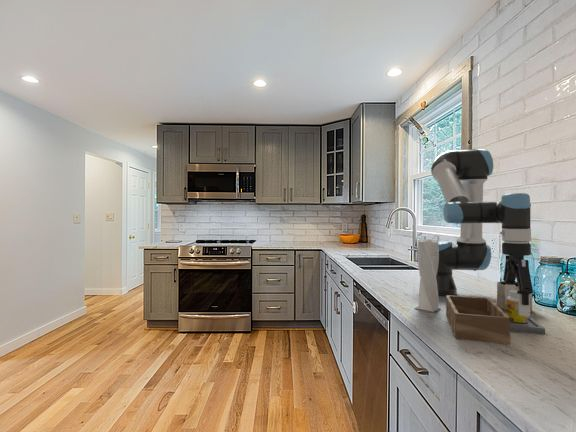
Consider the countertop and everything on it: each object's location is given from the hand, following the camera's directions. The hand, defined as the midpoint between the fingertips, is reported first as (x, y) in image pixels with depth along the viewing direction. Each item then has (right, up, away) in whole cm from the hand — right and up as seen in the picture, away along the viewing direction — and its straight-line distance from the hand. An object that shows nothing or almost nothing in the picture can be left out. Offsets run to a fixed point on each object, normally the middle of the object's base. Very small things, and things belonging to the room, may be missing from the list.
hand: (517, 309), depth 103 cm
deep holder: (-14, -5, -1) cm, 15 cm away
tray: (0, -5, 0) cm, 5 cm away
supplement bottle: (0, -5, 0) cm, 5 cm away
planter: (+12, -6, +19) cm, 23 cm away
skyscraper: (-20, -6, +19) cm, 28 cm away
